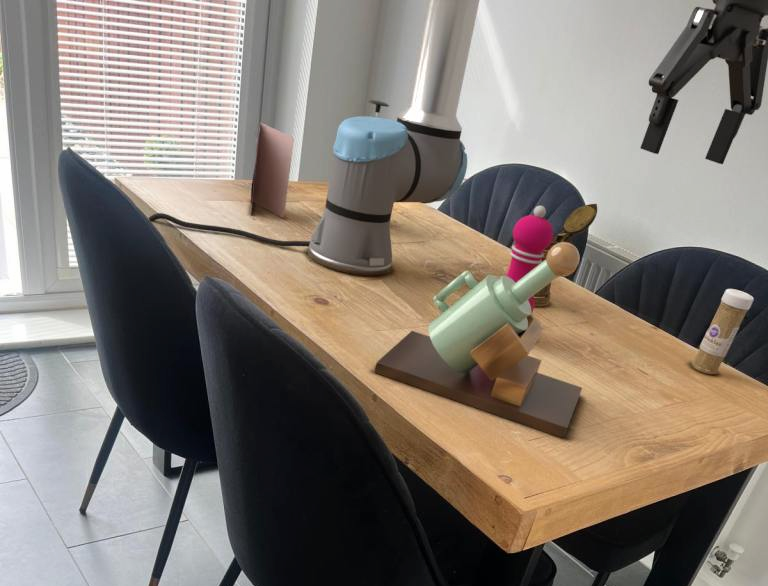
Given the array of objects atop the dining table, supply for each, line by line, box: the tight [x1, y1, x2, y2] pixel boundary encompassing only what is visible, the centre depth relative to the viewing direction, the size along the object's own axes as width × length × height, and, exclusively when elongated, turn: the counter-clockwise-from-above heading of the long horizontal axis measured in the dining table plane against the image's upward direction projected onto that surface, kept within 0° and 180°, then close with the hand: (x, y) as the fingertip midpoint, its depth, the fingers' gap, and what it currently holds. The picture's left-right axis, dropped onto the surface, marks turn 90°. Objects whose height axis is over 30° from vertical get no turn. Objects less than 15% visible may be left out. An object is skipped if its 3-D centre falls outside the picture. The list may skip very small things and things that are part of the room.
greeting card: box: [250, 122, 295, 219], centre depth 151 cm, size 11×7×15 cm, turn 6°
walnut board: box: [374, 330, 583, 439], centre depth 104 cm, size 26×15×2 cm, turn 69°
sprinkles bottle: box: [691, 288, 755, 375], centre depth 125 cm, size 5×5×14 cm
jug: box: [427, 242, 581, 374], centre depth 98 cm, size 16×8×20 cm, turn 69°
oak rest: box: [470, 312, 545, 407], centre depth 100 cm, size 8×11×10 cm
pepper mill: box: [505, 205, 554, 314], centre depth 118 cm, size 7×7×20 cm
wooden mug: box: [534, 203, 598, 307], centre depth 138 cm, size 9×14×18 cm, turn 111°
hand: (682, 156), depth 105 cm, fingers open, 13 cm apart
